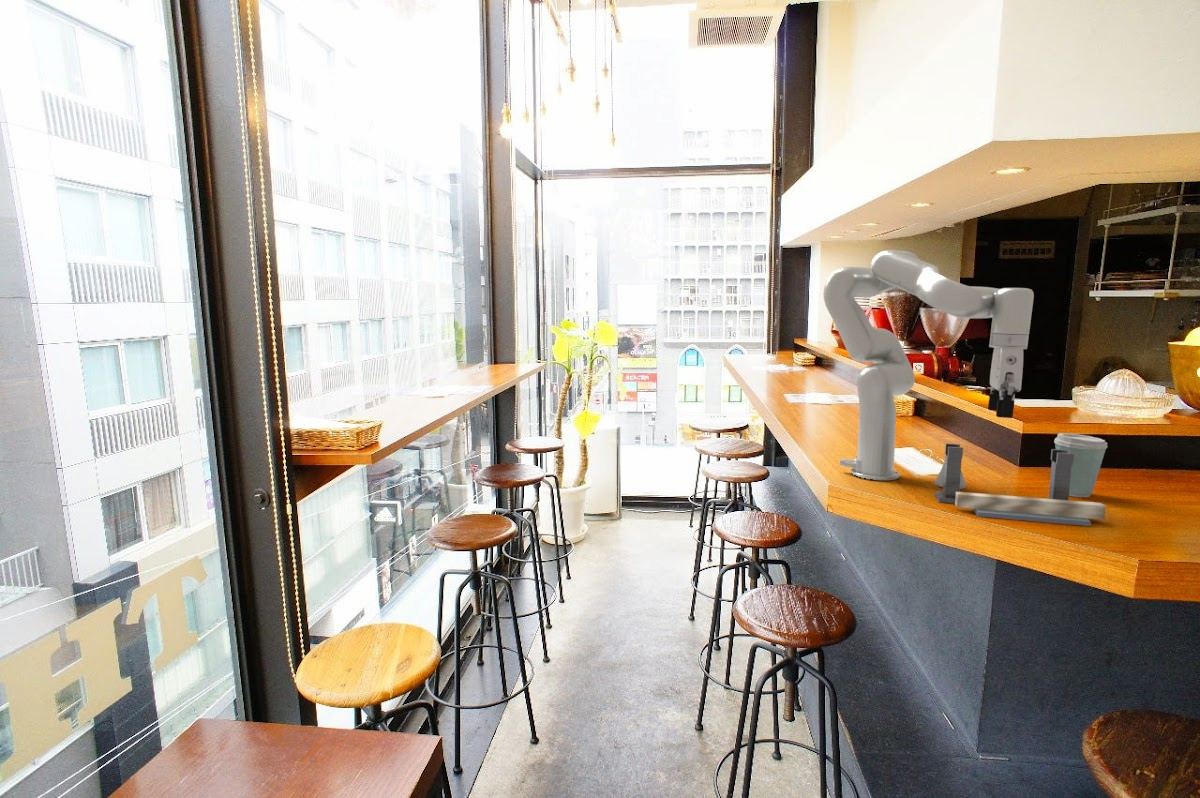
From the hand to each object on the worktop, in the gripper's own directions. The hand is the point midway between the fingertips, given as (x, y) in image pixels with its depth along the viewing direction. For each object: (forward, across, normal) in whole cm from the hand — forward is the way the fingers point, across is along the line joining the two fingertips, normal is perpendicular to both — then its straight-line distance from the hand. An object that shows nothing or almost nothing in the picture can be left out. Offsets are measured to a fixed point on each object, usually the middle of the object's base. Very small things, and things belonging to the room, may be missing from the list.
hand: (999, 413), depth 151 cm
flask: (+22, +11, +7) cm, 26 cm away
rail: (+20, -11, -5) cm, 23 cm away
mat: (+21, -11, -6) cm, 24 cm away
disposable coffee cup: (+21, +13, -21) cm, 33 cm away
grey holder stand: (+21, -2, -2) cm, 22 cm away
